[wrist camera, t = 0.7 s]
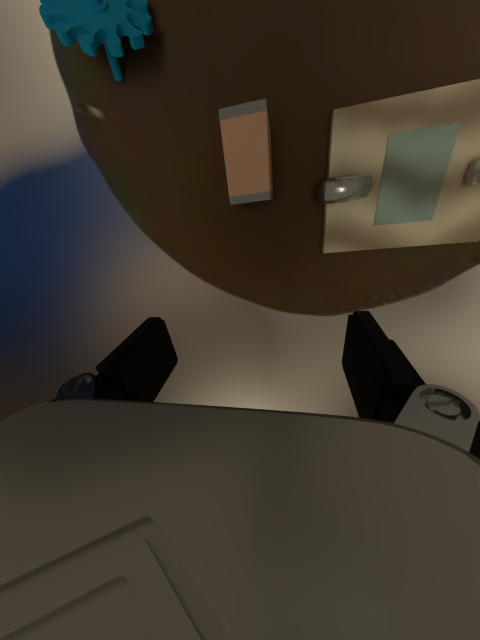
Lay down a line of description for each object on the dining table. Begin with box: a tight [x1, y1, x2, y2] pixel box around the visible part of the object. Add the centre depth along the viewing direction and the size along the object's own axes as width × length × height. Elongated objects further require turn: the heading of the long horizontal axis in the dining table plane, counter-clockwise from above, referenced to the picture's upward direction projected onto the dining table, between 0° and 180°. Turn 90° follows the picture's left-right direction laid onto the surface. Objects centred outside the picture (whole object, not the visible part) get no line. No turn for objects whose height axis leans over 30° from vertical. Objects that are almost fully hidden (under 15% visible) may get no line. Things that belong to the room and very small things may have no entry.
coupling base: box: [322, 79, 480, 253], centre depth 24 cm, size 15×18×3 cm
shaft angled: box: [318, 174, 373, 204], centre depth 24 cm, size 2×6×4 cm, turn 97°
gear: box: [39, 0, 154, 81], centre depth 22 cm, size 11×6×10 cm
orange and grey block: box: [218, 98, 273, 205], centre depth 25 cm, size 8×4×7 cm, turn 7°
